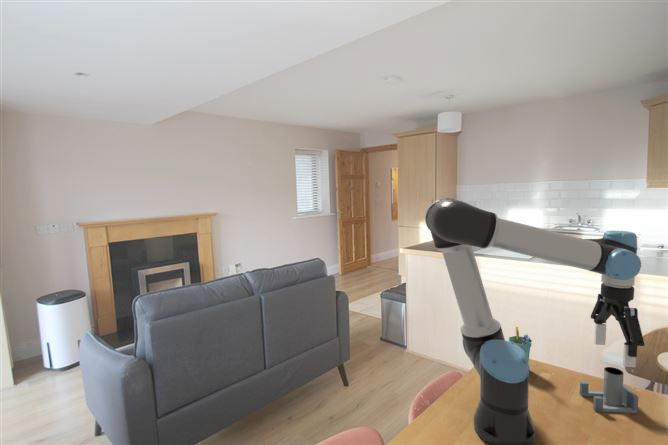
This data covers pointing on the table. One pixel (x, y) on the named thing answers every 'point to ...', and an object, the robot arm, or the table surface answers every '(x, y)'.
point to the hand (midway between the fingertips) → (613, 354)
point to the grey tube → (613, 387)
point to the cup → (522, 342)
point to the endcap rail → (628, 400)
